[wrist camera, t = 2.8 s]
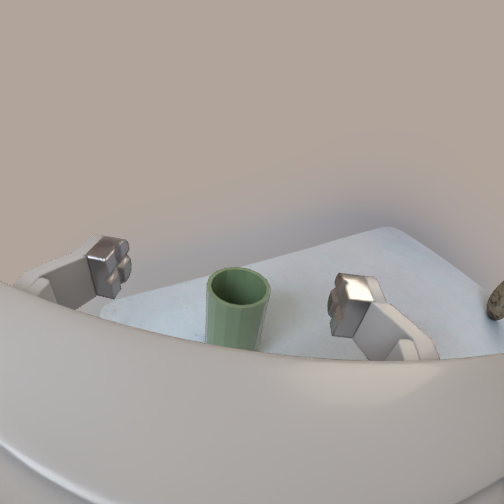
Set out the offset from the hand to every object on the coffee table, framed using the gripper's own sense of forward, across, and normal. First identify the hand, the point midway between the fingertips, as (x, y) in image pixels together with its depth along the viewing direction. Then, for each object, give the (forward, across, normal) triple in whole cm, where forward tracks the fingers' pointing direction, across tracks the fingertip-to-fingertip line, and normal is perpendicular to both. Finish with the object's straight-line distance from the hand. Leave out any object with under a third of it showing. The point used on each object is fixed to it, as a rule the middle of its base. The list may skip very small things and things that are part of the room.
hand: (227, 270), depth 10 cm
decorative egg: (+22, -52, +20) cm, 60 cm away
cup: (+12, 0, +20) cm, 23 cm away
